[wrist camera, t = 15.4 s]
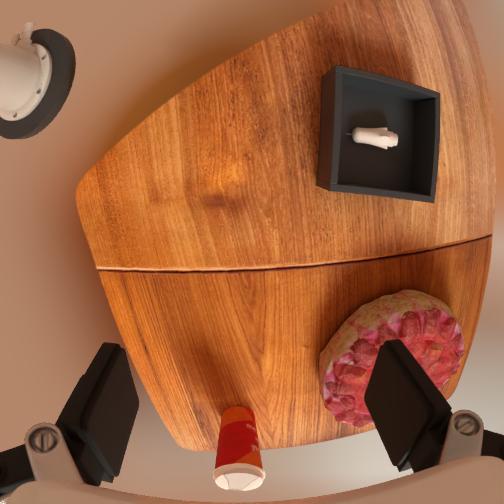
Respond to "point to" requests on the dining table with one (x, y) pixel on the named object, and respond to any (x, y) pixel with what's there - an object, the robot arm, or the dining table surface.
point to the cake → (374, 335)
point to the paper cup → (238, 451)
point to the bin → (378, 116)
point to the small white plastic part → (375, 137)
